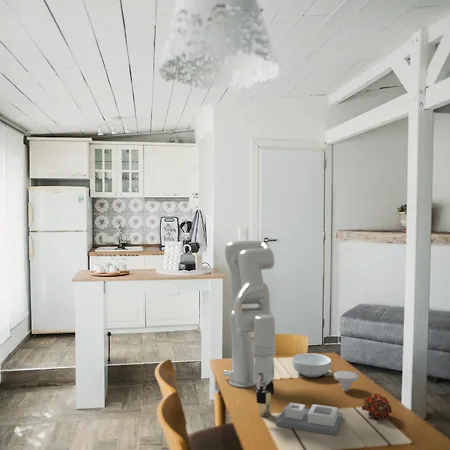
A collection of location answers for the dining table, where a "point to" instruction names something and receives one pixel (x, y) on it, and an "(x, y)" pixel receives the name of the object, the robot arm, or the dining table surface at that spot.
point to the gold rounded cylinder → (266, 406)
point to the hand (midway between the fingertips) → (265, 398)
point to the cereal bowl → (311, 364)
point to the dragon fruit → (377, 406)
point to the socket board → (311, 418)
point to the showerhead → (346, 378)
